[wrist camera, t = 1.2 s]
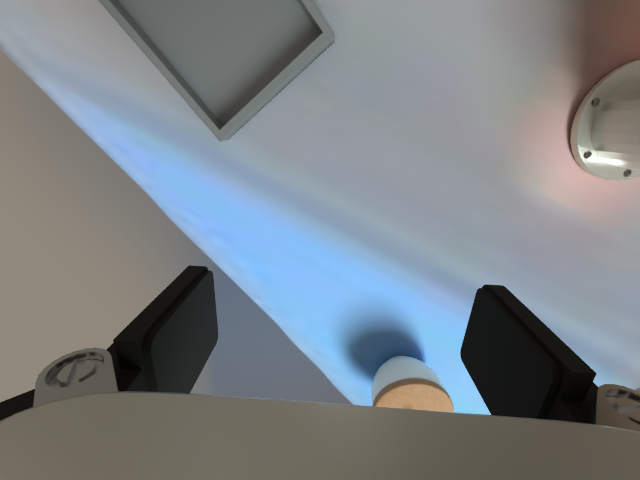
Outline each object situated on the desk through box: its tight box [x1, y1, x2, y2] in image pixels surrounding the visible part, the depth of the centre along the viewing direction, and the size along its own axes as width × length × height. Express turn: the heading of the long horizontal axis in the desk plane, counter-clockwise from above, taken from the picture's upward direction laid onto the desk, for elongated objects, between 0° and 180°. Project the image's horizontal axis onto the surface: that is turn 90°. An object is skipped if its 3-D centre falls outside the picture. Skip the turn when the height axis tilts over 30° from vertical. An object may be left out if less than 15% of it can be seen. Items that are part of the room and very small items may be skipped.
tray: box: [99, 0, 335, 141], centre depth 30 cm, size 16×20×3 cm
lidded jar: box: [372, 355, 454, 412], centre depth 43 cm, size 11×11×9 cm
